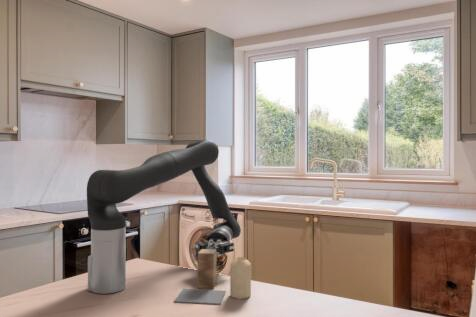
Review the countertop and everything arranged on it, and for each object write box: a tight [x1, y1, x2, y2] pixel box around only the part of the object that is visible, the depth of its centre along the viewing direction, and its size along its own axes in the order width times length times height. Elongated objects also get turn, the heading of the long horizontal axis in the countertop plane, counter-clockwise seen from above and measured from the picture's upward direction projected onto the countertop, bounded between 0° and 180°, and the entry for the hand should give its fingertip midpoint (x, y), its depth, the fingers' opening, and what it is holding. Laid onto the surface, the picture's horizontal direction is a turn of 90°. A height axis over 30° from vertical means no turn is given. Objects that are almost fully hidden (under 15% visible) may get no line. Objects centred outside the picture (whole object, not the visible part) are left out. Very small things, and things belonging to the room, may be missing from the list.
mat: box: [173, 288, 227, 306], centre depth 102 cm, size 12×9×1 cm
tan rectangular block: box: [197, 249, 218, 290], centre depth 111 cm, size 4×5×10 cm
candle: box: [229, 256, 252, 300], centre depth 104 cm, size 6×6×10 cm
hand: (209, 253), depth 114 cm, fingers closed
